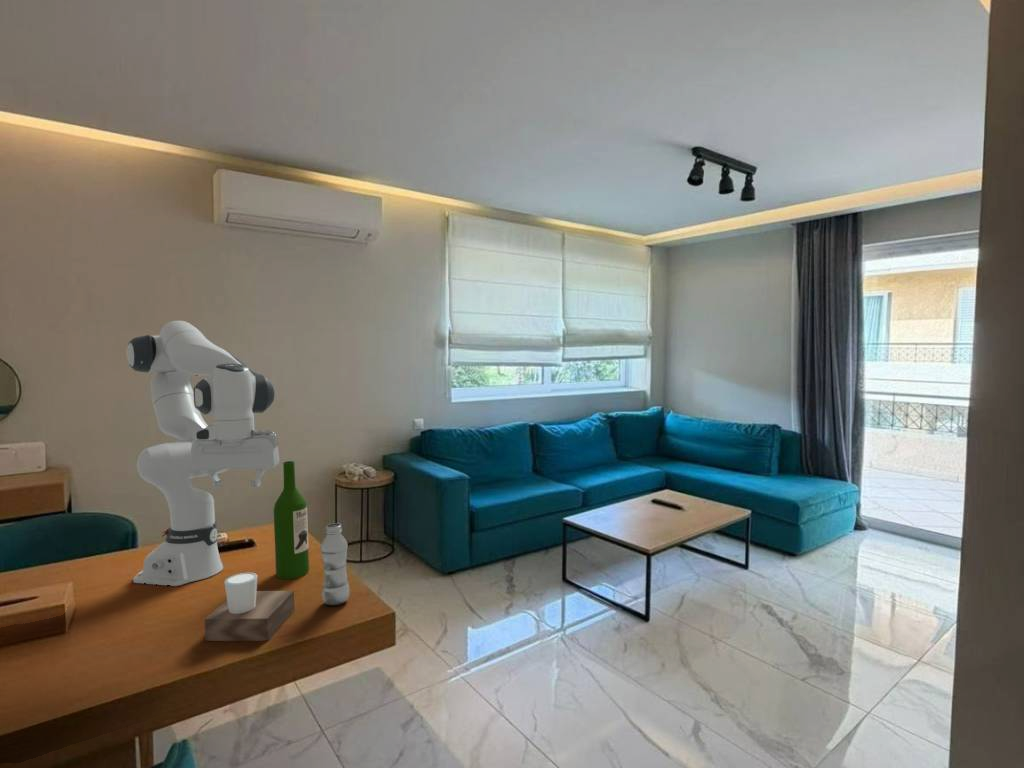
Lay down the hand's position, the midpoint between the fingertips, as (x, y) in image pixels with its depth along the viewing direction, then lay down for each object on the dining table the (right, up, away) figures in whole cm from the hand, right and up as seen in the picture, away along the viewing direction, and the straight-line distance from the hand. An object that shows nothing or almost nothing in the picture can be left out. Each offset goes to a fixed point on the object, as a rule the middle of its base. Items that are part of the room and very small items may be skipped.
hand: (236, 486), depth 131 cm
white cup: (+5, -27, -7) cm, 28 cm away
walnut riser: (+6, -31, -5) cm, 32 cm away
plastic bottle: (+22, -31, +6) cm, 38 cm away
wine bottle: (+4, -30, +25) cm, 39 cm away
